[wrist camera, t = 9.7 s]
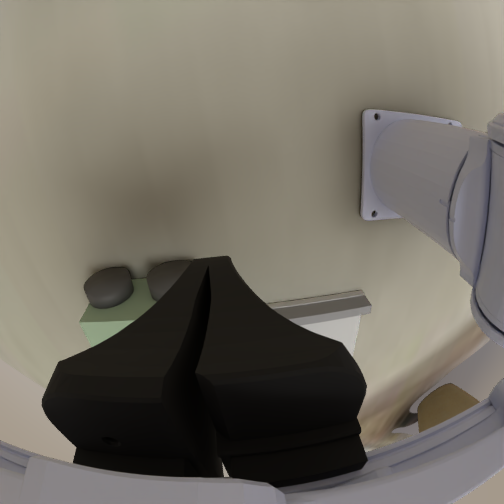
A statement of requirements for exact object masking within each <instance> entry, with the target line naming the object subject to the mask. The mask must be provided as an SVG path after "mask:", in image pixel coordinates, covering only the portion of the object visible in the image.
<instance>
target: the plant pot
mask: <svg viewBox="0 0 504 504" xmlns="http://www.w3.org/2000/svg"><path fill="white" fill-rule="evenodd" d="M478 403H480V402H479V401H478V400H477V399H475V398H474V397H472V396H471V395H470V394H468V393H467V392H465V391H463V390H462V389H460V388H459V387H457V386H455V385H454V384H451V383H449V384H445V385H443V386H441V387H439V388H437V389H436V390H434V391H433V392H431V393H430V394H429V395H428V396H427V397H426V398H424V399H423V401H422V402H421V403H420V404H419V406H418V424H419V433H420V432H422V431H425V430H427V429H429V428H431V427H434V426H436V425H438V424H440V423H442V422H444V421H446V420H448V419H450V418H452V417H454V416H456V415H458V414H460V413H462V412H464V411H465V410H467V409H469V408H471V407H473V406H474V405H476V404H478Z"/></svg>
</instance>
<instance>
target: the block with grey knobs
mask: <svg viewBox="0 0 504 504" xmlns="http://www.w3.org/2000/svg"><path fill="white" fill-rule="evenodd" d="M190 264H191V262H190V261H185V260H177V261H170V262H166V263H163V264H161V265H159V266H157V267H155V268H154V269H152V270H151V271H150V272H149V274H148V275H147V278H143V279H133V280H131V277H130V274H129V271H128V270H127V269H125V268H121V267H113V268H108V269H104V270H102V271H99V272H97V273H95V274H94V275H92V276H91V277H90V278H89V279H88V280H87V281H86V282H85V284H84V290H85V293H86V295H87V298H88V300H89V302H90V304H89V305H88V307H87V309H86V311H85V313H84V314H83V316H82V318H81V320H80V322H79V323H80V325H81V327H82V329H83V331H84V333H85V335H86V337H87V339H88V341H89V343H90V345H91V347H93V346H95V345H97V344H99V343H101V342H103V341H105V340H106V339H108V338H110V337H111V336H113V335H115V334H116V333H118V332H119V331H121V330H122V329H123V328H125V327H126V326H128V325H129V324H131V323H132V322H133V321H135V320H136V319H138V318H139V317H140V316H141V315H143V314H144V313H145V312H146V311H147V310H149V309H150V308H151V307H152V306H153V305H154V304H155V303H156V302H157V301H158V300H159V299H160V298H161V297H162V296H163V295H164V294H165V293H166V292H167V291H168V290H169V289H170V288H171V287H172V285H173V284H174V283H175V282H176V281H177V280H178V278H179V277H180V276H181V275H182V273H183V272H184V271H185V270H186V268H187V267H188V266H189V265H190ZM267 305H268V306H269V307H271V308H272V309H273V310H275V311H276V312H277V313H279V314H280V315H282V316H284V317H285V318H287V319H288V320H290V321H292V322H293V323H295V324H297V325H299V326H301V327H303V328H306V329H308V330H310V331H312V332H314V333H317V334H320V335H323V336H325V337H328V338H331V339H334V340H337V341H340V342H342V343H343V344H344V346H345V347H346V348H347V350H348V351H349V353H350V354H351V356H352V357H353V352H354V348H355V343H356V338H357V334H358V329H359V323H360V318H361V315H364V314H369V313H370V312H371V307H372V305H371V304H370V302H369V301H368V299H367V298H366V296H365V294H364V292H363V291H362V290H359V291H353V292H347V293H341V294H334V295H328V296H321V297H314V298H307V299H300V300H293V301H285V302H278V303H270V304H267Z"/></svg>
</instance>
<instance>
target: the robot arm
mask: <svg viewBox="0 0 504 504" xmlns="http://www.w3.org/2000/svg"><path fill="white" fill-rule="evenodd" d="M375 114H377V115H378V119H377V120H375V118H374V115H375ZM448 124H449V125H448ZM362 127H363V163H362V194H361V213H360V214H361V217H362V218H363V219H364V220H366V221H370V220H382V219H395V218H404V219H405V220H407V221H408V222H409V223H411V224H412V225H414V226H415V227H416V228H418V229H419V230H420V231H422V232H423V233H424V234H426V235H427V236H428V237H430V238H431V239H432V240H434V241H435V242H436V243H438V244H439V245H440V246H441V247H443V248H444V249H445V250H447V251H448V252H449V253H450V254H452V255H453V256H454V257H455V258H457V259H458V260H459V262H460V268H461V270H460V276H461V277H462V278H463V279H464V280H466V281H467V282H468V283H469V284H470V285H471V286H472V287H473V289H472V293H471V299H470V304H471V311H472V314H473V317H474V319H475V321H476V323H477V324H478V326H479V327H480V328H481V330H482V331H483V332H484V333H485V334H486V335H487V336H488V337H489V338H490V339H491V340H492V341H494V342H495V343H496V344H498V345H500V346H501V347H503V348H504V113H499V114H498V115H497V116H496V117H495V118H494V119H493V121H489V123H488V125H487V130H488V133H485V132H481V131H477V130H473V129H468V128H463V127H462V125H461V123H460V122H459V121H455V120H449V119H444V118H438V117H432V116H426V115H419V114H412V113H404V112H396V111H386V110H375V109H366V110H364V112H363V114H362ZM373 211H375V214H374V215H372V216H371V214H372V212H373ZM366 388H367V385H366V382H365V379H364V377H363V374H362V372H361V370H360V368H359V366H358V365H357V363H356V362H355V360H354V359H353V357H352V356H351V354H350V353H349V351H348V350H347V348H346V347H345V346H344V344H343V343H342V342H340V341H337V340H334V339H331V338H328V337H325V336H323V335H320V334H317V333H314V332H312V331H310V330H308V329H306V328H303V327H301V326H299V325H297V324H295V323H293V322H292V321H290V320H288V319H287V318H285V317H284V316H282V315H280V314H279V313H277V312H276V311H275V310H273V309H272V308H271V307H269V306H268V305H267V304H266V303H265V302H263V301H262V300H261V299H260V298H259V297H258V296H257V295H256V294H255V293H254V292H253V291H252V290H251V289H250V288H249V286H248V285H247V284H246V283H245V282H244V280H243V279H242V278H241V276H240V275H239V274H238V272H237V271H236V269H235V267H234V265H233V263H232V261H231V258H230V257H229V256H220V257H211V258H201V259H194V260H193V261H192V262H191V264H190V265H189V266H188V267H187V268H186V270H185V271H184V272H183V273H182V275H181V276H180V277H179V278H178V280H177V281H176V282H175V283H174V284H173V285H172V287H171V288H170V289H169V290H168V291H167V292H166V293H165V294H164V295H163V296H162V297H161V298H160V299H159V300H158V301H157V302H156V303H155V304H154V305H153V306H152V307H151V308H150V309H149V310H147V311H146V312H145V313H144V314H143V315H141V316H140V317H139V318H138V319H136V320H135V321H133V322H132V323H131V324H129V325H128V326H126V327H125V328H123V329H122V330H121V331H119V332H118V333H116V334H115V335H113V336H111V337H110V338H108V339H106V340H105V341H103V342H101V343H99V344H97V345H95V346H93V347H91V348H89V349H87V350H85V351H83V352H81V353H78V354H76V355H74V356H72V357H69V358H67V359H65V360H62V361H59V362H58V364H57V366H56V368H55V371H54V373H53V375H52V377H51V379H50V382H49V384H48V386H47V389H46V391H45V393H44V396H43V398H42V407H43V410H44V412H45V414H46V416H47V417H48V419H49V420H50V421H51V422H52V424H53V425H54V426H55V427H56V428H57V429H58V430H59V431H60V432H61V433H62V434H63V435H64V436H65V437H66V438H67V439H68V440H69V441H70V442H72V444H74V445H75V446H76V447H77V448H76V452H75V456H74V460H73V463H69V462H65V461H61V460H58V459H54V458H49V457H45V456H42V455H39V454H36V453H33V452H30V451H27V450H24V449H21V448H18V447H16V446H13V445H11V444H8V443H6V442H3V441H1V440H0V504H452V503H454V502H456V501H458V500H459V499H461V498H462V497H464V496H466V495H467V494H469V493H470V492H471V491H473V490H475V489H476V488H477V487H479V486H480V485H482V484H483V483H485V482H486V481H487V480H489V479H490V478H491V477H493V476H494V475H495V474H497V473H498V472H499V471H501V470H502V469H503V468H504V378H503V379H502V380H501V381H500V382H498V384H497V385H496V386H495V387H494V388H493V390H492V391H491V393H490V394H489V397H488V398H487V399H485V400H483V401H481V402H480V403H478V404H476V405H474V406H473V407H471V408H469V409H467V410H465V411H464V412H462V413H460V414H458V415H456V416H454V417H452V418H450V419H448V420H446V421H444V422H442V423H440V424H438V425H436V426H434V427H431V428H429V429H427V430H425V431H422V432H420V433H418V434H415V435H413V436H410V437H408V438H405V439H403V440H400V441H398V442H395V443H392V444H389V445H387V446H384V447H381V448H378V449H375V450H372V451H368V452H365V450H364V447H363V445H362V442H361V439H360V436H359V434H360V433H361V427H360V424H359V422H358V419H357V415H358V413H359V410H360V408H361V405H362V403H363V400H364V397H365V395H366ZM222 462H223V464H224V466H225V469H226V471H227V473H228V475H229V477H224V475H223V466H222Z"/></svg>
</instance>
